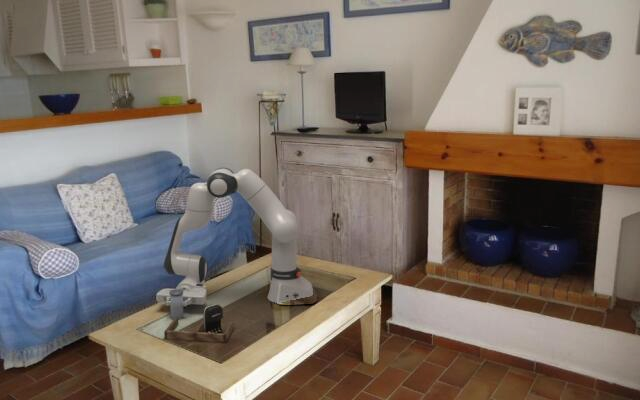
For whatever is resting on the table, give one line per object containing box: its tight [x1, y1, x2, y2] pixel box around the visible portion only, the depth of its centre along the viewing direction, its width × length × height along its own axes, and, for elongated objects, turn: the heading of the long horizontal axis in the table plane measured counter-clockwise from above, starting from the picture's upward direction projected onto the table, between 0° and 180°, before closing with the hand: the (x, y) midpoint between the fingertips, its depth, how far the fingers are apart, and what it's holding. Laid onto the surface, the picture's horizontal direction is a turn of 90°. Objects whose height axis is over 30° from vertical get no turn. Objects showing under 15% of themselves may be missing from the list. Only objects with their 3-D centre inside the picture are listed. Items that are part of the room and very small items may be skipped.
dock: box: [163, 317, 235, 343], centre depth 206 cm, size 23×13×3 cm, turn 86°
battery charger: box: [203, 303, 224, 334], centre depth 204 cm, size 7×4×11 cm, turn 134°
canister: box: [169, 288, 184, 321], centre depth 218 cm, size 5×5×11 cm
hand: (176, 304), depth 217 cm, fingers closed on canister, 5 cm apart
